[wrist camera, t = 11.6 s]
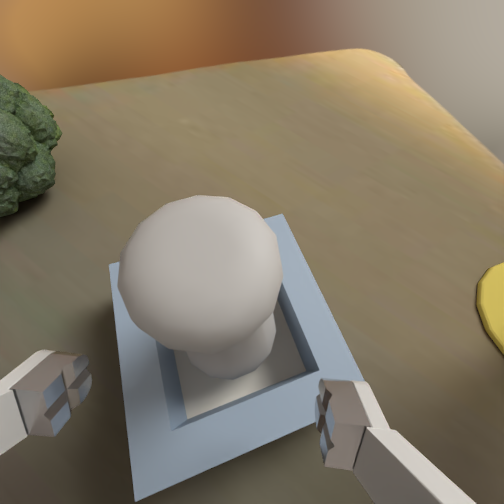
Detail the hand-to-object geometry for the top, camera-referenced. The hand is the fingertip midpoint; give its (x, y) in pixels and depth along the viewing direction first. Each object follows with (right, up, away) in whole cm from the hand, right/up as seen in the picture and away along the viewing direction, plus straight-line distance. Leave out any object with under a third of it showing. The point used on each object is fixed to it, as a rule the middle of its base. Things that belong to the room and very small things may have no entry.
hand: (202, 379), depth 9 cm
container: (0, -2, +10) cm, 10 cm away
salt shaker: (0, -1, +9) cm, 9 cm away
